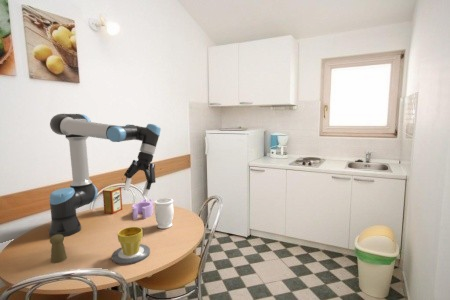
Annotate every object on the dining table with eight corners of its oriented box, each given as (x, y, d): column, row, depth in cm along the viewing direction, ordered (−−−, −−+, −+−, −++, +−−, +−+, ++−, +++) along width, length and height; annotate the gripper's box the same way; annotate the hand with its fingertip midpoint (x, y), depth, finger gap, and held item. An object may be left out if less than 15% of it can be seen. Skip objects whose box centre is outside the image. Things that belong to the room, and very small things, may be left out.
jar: (166, 221, 157) (165, 196, 155) (178, 225, 150) (177, 199, 148) (151, 226, 148) (150, 201, 147) (163, 231, 142) (161, 204, 140)
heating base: (104, 259, 114) (103, 256, 114) (132, 243, 128) (132, 240, 128) (130, 268, 107) (129, 265, 106) (157, 250, 121) (157, 247, 121)
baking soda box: (112, 214, 170) (110, 190, 168) (104, 213, 172) (102, 189, 170) (122, 209, 179) (120, 186, 177) (114, 208, 180) (112, 186, 179)
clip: (139, 208, 180) (139, 199, 179) (157, 208, 180) (157, 198, 179) (129, 219, 160) (128, 208, 159) (149, 219, 160) (148, 208, 159)
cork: (69, 255, 118) (67, 232, 116) (61, 262, 112) (59, 238, 110) (56, 256, 117) (53, 232, 116) (47, 263, 111) (45, 238, 110)
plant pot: (135, 259, 111) (134, 237, 110) (114, 256, 113) (112, 235, 112) (147, 247, 121) (146, 227, 120) (127, 245, 123) (126, 225, 122)
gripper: (169, 158, 134) (158, 198, 130) (135, 152, 146) (123, 189, 142) (159, 154, 128) (147, 197, 124) (124, 148, 140) (112, 187, 136)
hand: (134, 193), depth 133 cm, fingers open, 13 cm apart
